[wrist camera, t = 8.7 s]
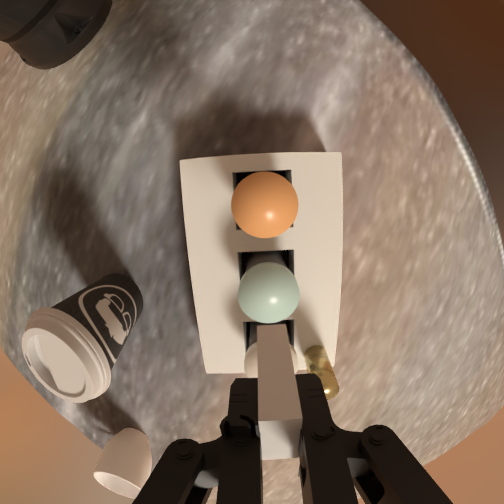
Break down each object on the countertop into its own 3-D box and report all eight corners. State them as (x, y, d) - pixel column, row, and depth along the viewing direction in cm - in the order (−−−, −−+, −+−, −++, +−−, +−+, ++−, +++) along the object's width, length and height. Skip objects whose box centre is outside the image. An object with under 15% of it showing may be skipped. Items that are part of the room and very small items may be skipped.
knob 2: (241, 240, 30) (235, 268, 22) (287, 238, 30) (299, 265, 21) (244, 282, 32) (240, 324, 23) (288, 280, 32) (299, 321, 23)
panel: (191, 162, 28) (179, 160, 23) (327, 155, 28) (341, 152, 23) (212, 348, 34) (206, 373, 29) (324, 342, 34) (333, 366, 29)
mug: (129, 415, 38) (108, 469, 27) (168, 442, 40) (156, 496, 29) (98, 431, 41) (78, 476, 29) (133, 455, 43) (119, 500, 31)
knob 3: (245, 301, 32) (242, 346, 23) (288, 298, 32) (298, 343, 23) (248, 336, 34) (245, 387, 25) (288, 334, 33) (297, 384, 25)
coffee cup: (94, 249, 31) (12, 298, 17) (163, 280, 32) (105, 355, 17) (84, 312, 33) (20, 376, 19) (145, 342, 34) (99, 424, 20)
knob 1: (237, 173, 29) (228, 173, 20) (284, 171, 28) (297, 170, 20) (240, 219, 30) (233, 239, 21) (286, 217, 30) (299, 236, 21)
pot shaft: (304, 346, 28) (313, 383, 22) (326, 343, 28) (340, 380, 22) (303, 364, 29) (312, 402, 23) (325, 361, 29) (337, 398, 23)
